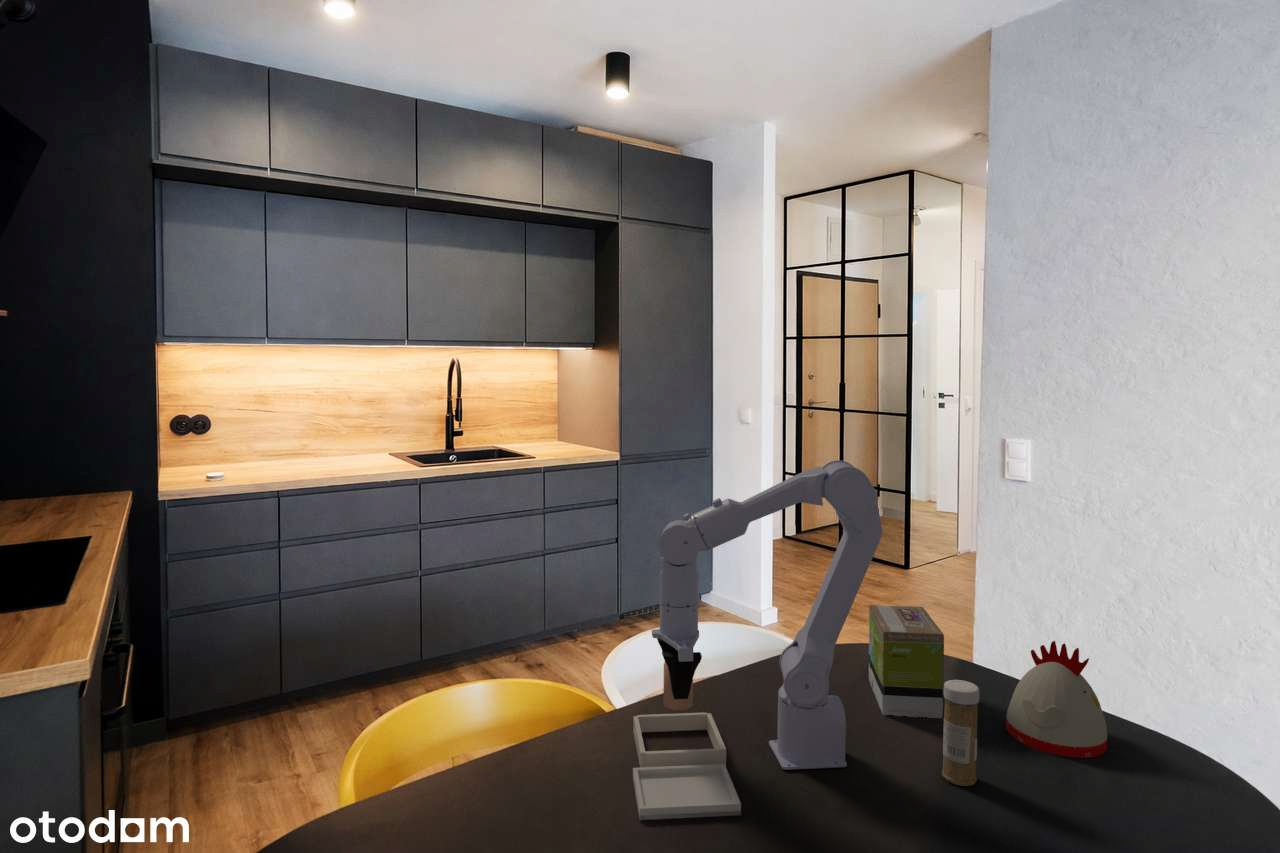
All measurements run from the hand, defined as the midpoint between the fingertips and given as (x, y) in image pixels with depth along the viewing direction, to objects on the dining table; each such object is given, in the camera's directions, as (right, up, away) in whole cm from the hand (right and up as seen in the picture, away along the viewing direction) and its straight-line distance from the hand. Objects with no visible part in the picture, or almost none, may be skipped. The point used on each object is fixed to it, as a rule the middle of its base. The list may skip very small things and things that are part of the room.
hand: (678, 691), depth 111 cm
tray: (0, -10, -12) cm, 16 cm away
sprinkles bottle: (+39, -10, -7) cm, 41 cm away
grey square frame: (0, -9, +1) cm, 9 cm away
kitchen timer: (+60, -9, +6) cm, 61 cm away
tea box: (+40, -8, +19) cm, 45 cm away
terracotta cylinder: (0, -2, 0) cm, 2 cm away
